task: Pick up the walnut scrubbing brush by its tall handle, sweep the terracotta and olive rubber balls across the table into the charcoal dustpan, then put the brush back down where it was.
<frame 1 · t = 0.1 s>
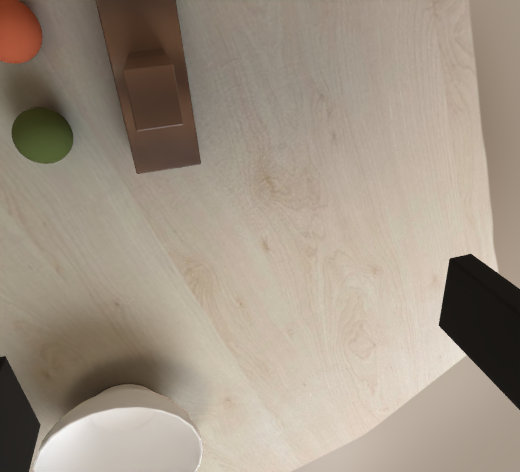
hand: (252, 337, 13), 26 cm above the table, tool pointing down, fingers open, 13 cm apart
ball a: (7, 30, 27), point 2 cm above the table
ball b: (43, 136, 31), point 2 cm above the table
bowl: (124, 406, 47), on the table
brush: (150, 68, 32), on the table
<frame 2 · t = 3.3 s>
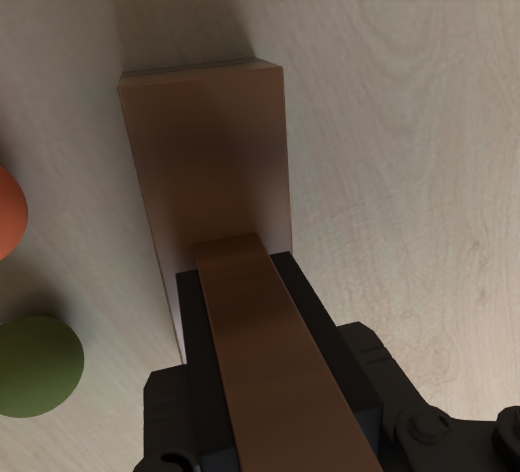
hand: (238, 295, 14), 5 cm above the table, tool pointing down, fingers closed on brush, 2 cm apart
ball b: (31, 365, 17), point 2 cm above the table
brush: (216, 231, 19), on the table, touching gripper
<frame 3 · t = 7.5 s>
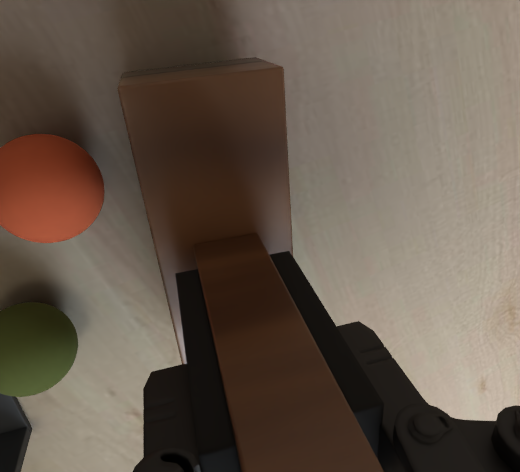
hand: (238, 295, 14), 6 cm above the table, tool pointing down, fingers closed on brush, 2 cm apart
ball a: (46, 189, 16), point 2 cm above the table, tilted 128°
ball b: (28, 348, 18), point 2 cm above the table, tilted 44°
brush: (216, 231, 19), point 1 cm above the table, touching gripper
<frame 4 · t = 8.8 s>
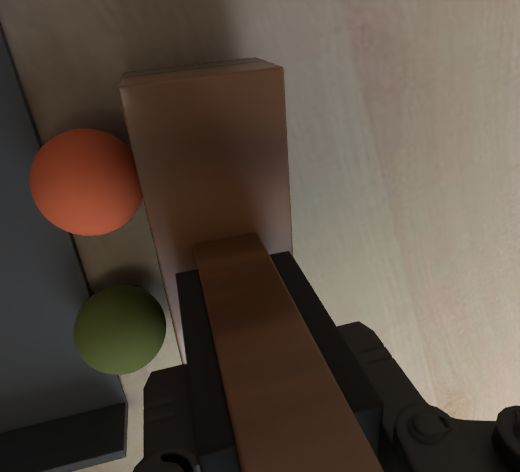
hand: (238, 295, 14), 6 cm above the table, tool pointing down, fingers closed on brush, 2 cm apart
ball a: (89, 183, 16), point 2 cm above the table, tilted 23°
ball b: (121, 328, 19), point 2 cm above the table, tilted 11°
brush: (216, 231, 19), point 1 cm above the table, touching gripper
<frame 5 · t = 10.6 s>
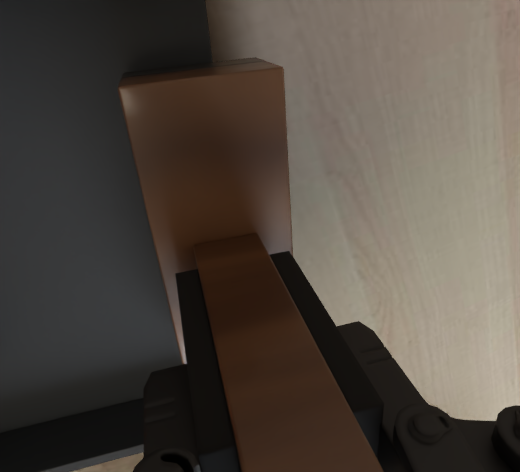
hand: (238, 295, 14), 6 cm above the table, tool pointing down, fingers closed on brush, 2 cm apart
dustpan: (56, 248, 19), on the table
brush: (216, 231, 19), point 1 cm above the table, touching gripper
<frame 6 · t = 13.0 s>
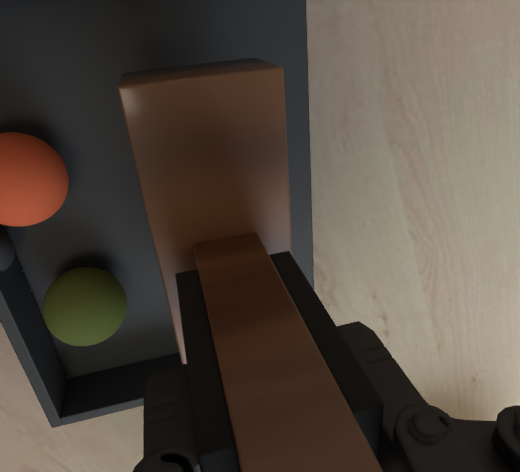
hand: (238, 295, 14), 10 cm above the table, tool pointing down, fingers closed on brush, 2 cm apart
ball a: (17, 180, 18), point 2 cm above the table, tilted 71°, touching dustpan
dustpan: (168, 205, 23), on the table
ball b: (86, 305, 21), point 2 cm above the table, tilted 42°, touching dustpan
brush: (216, 231, 19), point 5 cm above the table, touching gripper
when the fingers open (5 cm above the table, at t = 19.2 s): brush stays where it is, on the table.
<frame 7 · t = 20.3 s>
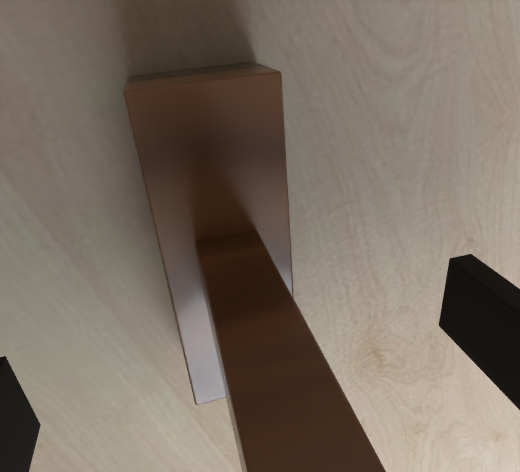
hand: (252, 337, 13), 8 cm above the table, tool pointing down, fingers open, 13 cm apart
brush: (217, 229, 19), on the table
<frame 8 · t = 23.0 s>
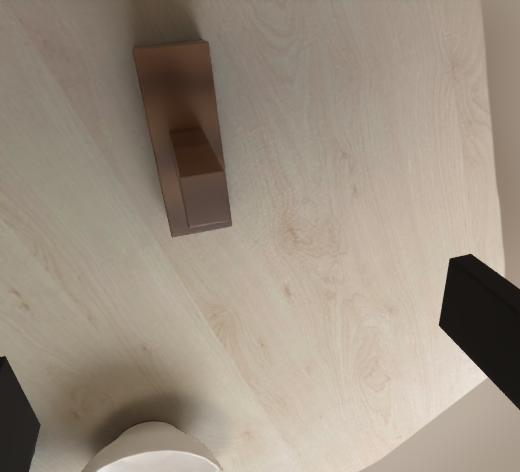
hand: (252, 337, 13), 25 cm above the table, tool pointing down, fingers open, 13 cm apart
bowl: (148, 442, 49), on the table
brush: (184, 137, 34), on the table
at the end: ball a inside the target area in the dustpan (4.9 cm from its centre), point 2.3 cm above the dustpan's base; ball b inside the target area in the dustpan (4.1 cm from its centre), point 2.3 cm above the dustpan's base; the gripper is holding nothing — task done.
